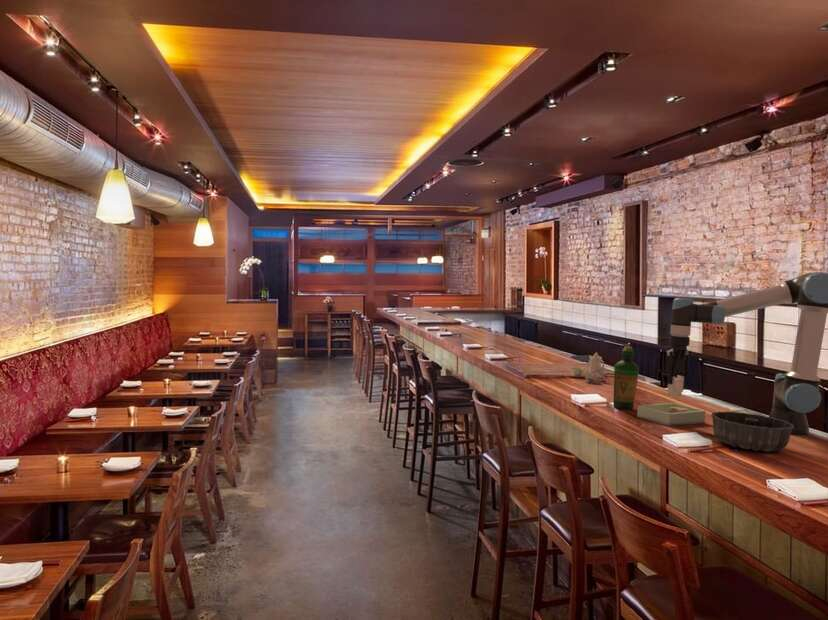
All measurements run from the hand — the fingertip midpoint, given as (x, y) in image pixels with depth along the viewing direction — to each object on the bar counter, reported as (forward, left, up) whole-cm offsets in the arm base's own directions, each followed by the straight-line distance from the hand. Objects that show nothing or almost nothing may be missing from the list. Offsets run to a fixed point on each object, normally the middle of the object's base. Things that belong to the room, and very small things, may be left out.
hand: (675, 391), depth 252 cm
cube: (0, -3, -12) cm, 12 cm away
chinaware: (+91, -42, -13) cm, 101 cm away
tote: (+3, -3, -13) cm, 14 cm away
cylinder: (0, 0, -2) cm, 2 cm away
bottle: (+26, 0, -13) cm, 29 cm away
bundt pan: (-35, +2, -13) cm, 37 cm away
